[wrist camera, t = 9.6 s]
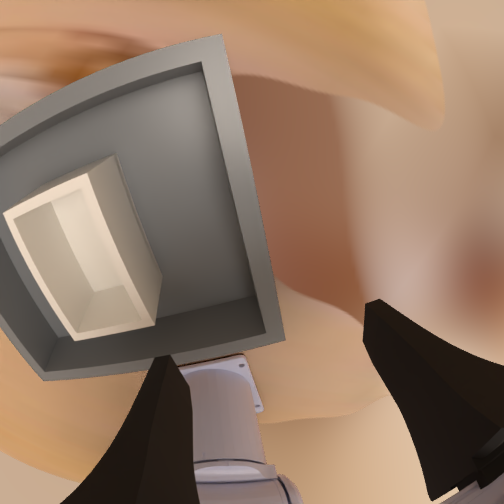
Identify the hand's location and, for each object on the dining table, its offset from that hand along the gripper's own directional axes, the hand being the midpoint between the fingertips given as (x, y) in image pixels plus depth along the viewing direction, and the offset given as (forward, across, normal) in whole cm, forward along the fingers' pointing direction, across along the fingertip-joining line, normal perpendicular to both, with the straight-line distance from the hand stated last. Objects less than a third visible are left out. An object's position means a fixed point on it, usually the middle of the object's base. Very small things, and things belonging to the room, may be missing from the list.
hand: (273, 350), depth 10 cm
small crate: (+9, +8, -3) cm, 12 cm away
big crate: (+9, +8, -3) cm, 13 cm away
